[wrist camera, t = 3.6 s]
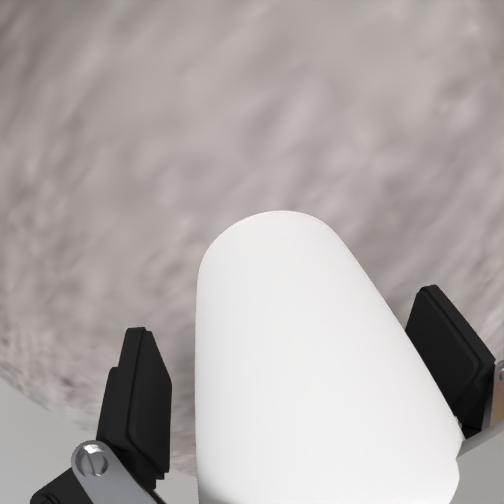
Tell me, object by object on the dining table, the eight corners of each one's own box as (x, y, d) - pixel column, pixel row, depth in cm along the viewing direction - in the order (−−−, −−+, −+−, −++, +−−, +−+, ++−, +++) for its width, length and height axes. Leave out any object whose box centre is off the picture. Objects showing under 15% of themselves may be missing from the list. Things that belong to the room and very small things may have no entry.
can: (240, 346, 16) (277, 587, 5) (167, 251, 12) (138, 608, 2) (358, 294, 15) (472, 523, 4) (317, 177, 11) (551, 507, 1)
